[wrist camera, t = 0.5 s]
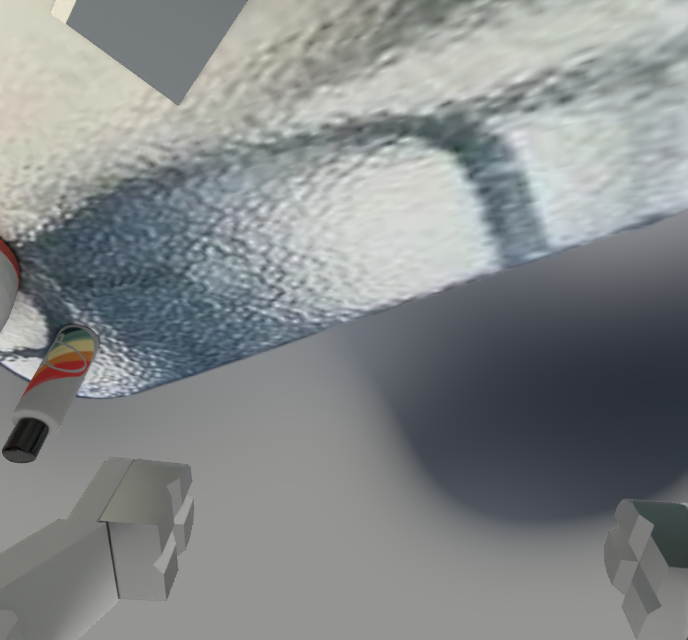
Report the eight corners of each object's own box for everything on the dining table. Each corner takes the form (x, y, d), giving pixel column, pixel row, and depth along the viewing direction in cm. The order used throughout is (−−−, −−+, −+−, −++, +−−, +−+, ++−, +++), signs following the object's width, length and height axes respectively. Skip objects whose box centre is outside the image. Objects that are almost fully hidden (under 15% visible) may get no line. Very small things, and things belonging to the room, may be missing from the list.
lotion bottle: (78, 318, 79) (12, 439, 65) (109, 343, 83) (52, 464, 68) (51, 331, 81) (-20, 452, 67) (82, 355, 85) (21, 475, 70)
